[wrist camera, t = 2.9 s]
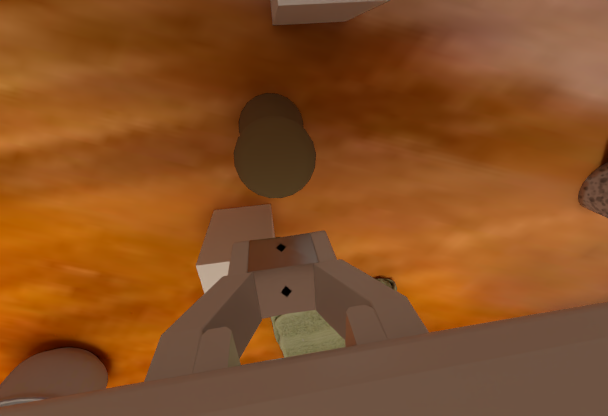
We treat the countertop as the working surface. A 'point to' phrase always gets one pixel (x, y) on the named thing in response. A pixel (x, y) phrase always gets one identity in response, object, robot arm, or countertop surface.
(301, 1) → the grey marked block
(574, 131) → the countertop surface
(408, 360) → the robot arm
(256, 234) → the cream marked block
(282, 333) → the washcloth
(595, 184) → the mug
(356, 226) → the countertop surface
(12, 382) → the teacup
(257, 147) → the dark brown tapered piece
